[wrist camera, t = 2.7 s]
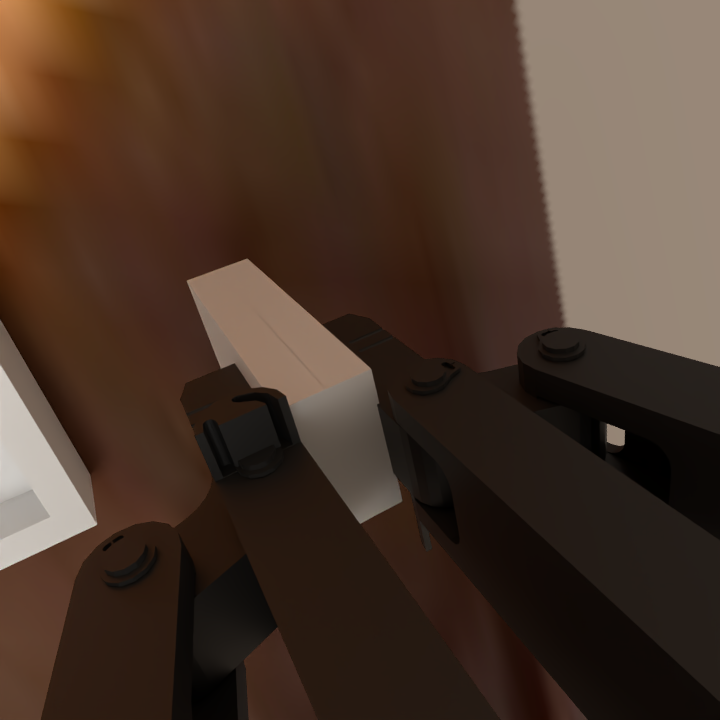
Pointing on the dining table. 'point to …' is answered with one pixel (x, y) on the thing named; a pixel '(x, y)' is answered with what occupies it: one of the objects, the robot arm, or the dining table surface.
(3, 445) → the white rectangular slab
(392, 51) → the dining table surface
